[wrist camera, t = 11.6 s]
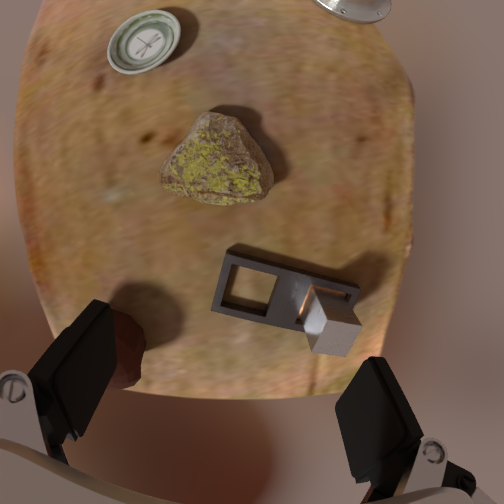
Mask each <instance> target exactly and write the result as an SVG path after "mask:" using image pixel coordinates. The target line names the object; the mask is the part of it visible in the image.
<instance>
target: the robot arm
mask: <svg viewBox="0 0 504 504" xmlns="http://www.w3.org/2000/svg"><path fill="white" fill-rule="evenodd" d="M313 1H314V2H315V3H316V4H318V5H319V6H320V7H322V8H323V9H324V10H326V11H328V12H329V13H331V14H333V15H335V16H337V17H340V18H342V19H345V20H348V21H351V22H357V23H367V24H368V23H375V22H378V21H380V20H382V19H384V18H385V17H386V16H387V15H388V14H389V12H390V10H391V0H313ZM116 367H117V354H116V342H115V326H114V311H113V309H110V305H109V304H108V303H105V302H102V301H99V300H96V299H94V300H93V301H92V302H91V303H90V304H89V305H88V306H87V307H86V308H85V309H84V310H83V312H82V313H81V314H80V315H79V316H78V317H77V318H76V319H75V321H74V322H73V323H72V324H71V325H70V326H69V327H67V328H65V329H64V330H63V331H62V332H61V334H60V335H59V336H58V337H57V338H56V339H55V341H54V342H53V343H52V344H51V345H50V347H49V348H48V349H47V350H46V352H45V353H44V354H43V355H42V356H41V358H40V359H39V360H38V362H37V363H36V364H35V365H34V367H33V368H32V369H31V370H30V372H29V373H28V374H27V375H25V374H24V373H23V372H20V371H17V370H9V371H5V372H3V373H1V374H0V504H180V503H175V502H171V501H166V500H162V499H158V498H155V497H151V496H147V495H144V494H140V493H137V492H134V491H130V490H128V489H125V488H122V487H119V486H116V485H113V484H111V483H108V482H105V481H103V480H100V479H98V478H95V477H93V476H90V475H88V474H86V473H83V472H81V471H79V470H77V469H75V468H72V467H70V465H69V463H68V460H67V458H66V455H65V452H64V449H63V446H62V444H63V442H64V440H65V438H68V439H70V440H72V441H74V442H76V440H77V438H78V436H79V437H82V436H83V435H84V433H85V431H86V429H87V426H88V424H89V422H90V420H91V418H92V416H93V414H94V412H95V410H96V408H97V406H98V404H99V401H100V399H101V397H102V395H103V394H104V391H105V390H106V388H107V386H108V384H109V382H110V380H111V378H112V376H113V374H114V372H115V370H116ZM335 412H336V415H337V419H338V423H339V427H340V430H341V435H342V438H343V442H344V446H345V450H346V454H347V458H348V462H349V466H350V471H351V474H352V476H353V477H354V478H355V479H356V483H363V482H368V481H370V482H371V486H370V488H369V489H368V491H367V493H366V495H365V497H364V498H363V500H362V502H361V503H360V504H496V503H495V502H494V501H493V500H492V499H491V498H490V497H489V496H488V495H486V494H485V493H484V492H483V491H482V490H481V489H480V488H479V487H476V480H475V477H474V476H473V475H472V473H470V472H469V471H467V470H465V469H463V468H461V467H459V466H457V465H455V464H453V463H451V462H450V461H448V460H447V458H448V453H447V449H446V447H445V446H444V444H443V443H442V442H441V441H439V440H437V439H434V438H427V439H425V440H423V441H422V442H421V440H420V439H421V438H422V437H423V436H424V434H423V432H422V430H421V428H420V426H419V423H418V422H417V419H416V417H415V415H414V413H413V411H412V409H411V407H410V405H409V403H408V401H407V399H406V397H405V395H404V394H403V391H402V390H401V387H400V386H399V383H398V382H397V380H396V378H395V376H394V374H393V372H392V370H391V369H390V367H389V365H388V363H387V361H386V359H385V358H383V357H374V356H371V357H369V358H368V359H367V360H365V361H364V362H363V363H362V365H361V367H360V368H359V370H358V371H357V373H356V374H355V376H354V378H353V379H352V381H351V382H350V384H349V385H348V387H347V388H346V390H345V391H344V393H343V394H342V395H341V397H340V398H339V400H338V401H337V403H336V406H335Z"/></svg>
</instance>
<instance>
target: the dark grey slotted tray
mask: <svg viewBox="0 0 504 504" xmlns="http://www.w3.org/2000/svg"><path fill="white" fill-rule="evenodd" d="M232 264H235V265H239V266H242V267H246V268H250V269H254V270H257V271H261V272H265V273H269V274H273V275H277V276H278V277H277V279H276V282H275V285H274V288H273V291H272V293H271V296H270V299H269V302H268V304H267V307H266V310H265V311H261V310H257V309H253V308H249V307H245V306H241V305H237V304H233V303H229V302H225V301H222V297H223V294H224V290H225V287H226V283H227V279H228V276H229V272H230V269H231V265H232ZM312 286H313V287H318V288H322V289H326V290H330V291H334V292H339V293H342V294H343V295H344V297H345V299H346V300H347V302H348V303H349V305H350V307H351V308H353V306H354V304H355V302H356V300H357V298H358V296H359V293H360V291H361V289H360V287H359V286H358V285H357V284H353V283H349V282H346V281H342V280H338V279H334V278H331V277H327V276H323V275H319V274H316V273H312V272H308V271H304V270H301V269H297V268H293V267H289V266H286V265H282V264H278V263H274V262H271V261H267V260H263V259H260V258H256V257H252V256H248V255H245V254H241V253H237V252H234V251H230V250H227V251H226V254H225V258H224V262H223V265H222V269H221V273H220V277H219V280H218V284H217V288H216V292H215V296H214V300H213V303H212V307H211V311H214V312H218V313H222V314H226V315H230V316H234V317H238V318H242V319H246V320H250V321H255V322H259V323H263V324H268V325H272V326H277V327H282V328H286V329H291V330H296V331H301V332H305V329H304V325H303V322H302V319H301V316H300V315H301V312H302V310H303V307H304V305H305V302H306V300H307V298H308V295H309V293H310V290H311V288H312Z"/></svg>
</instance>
